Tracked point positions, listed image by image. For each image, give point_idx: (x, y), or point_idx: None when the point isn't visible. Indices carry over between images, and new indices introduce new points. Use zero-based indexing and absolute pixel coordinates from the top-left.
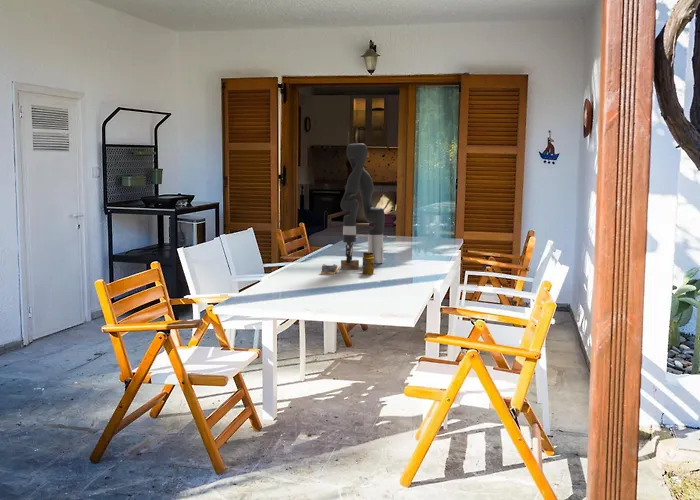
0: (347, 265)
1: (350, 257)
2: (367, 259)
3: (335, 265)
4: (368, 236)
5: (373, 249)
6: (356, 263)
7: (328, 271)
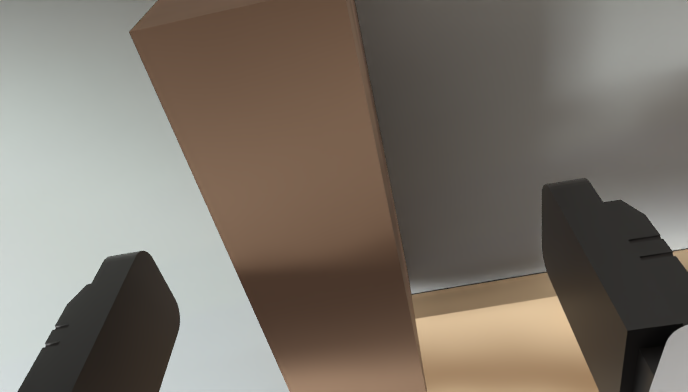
0: (395, 218)
1: (122, 352)
2: None
3: None
4: None
5: None
6: (354, 24)
7: None
